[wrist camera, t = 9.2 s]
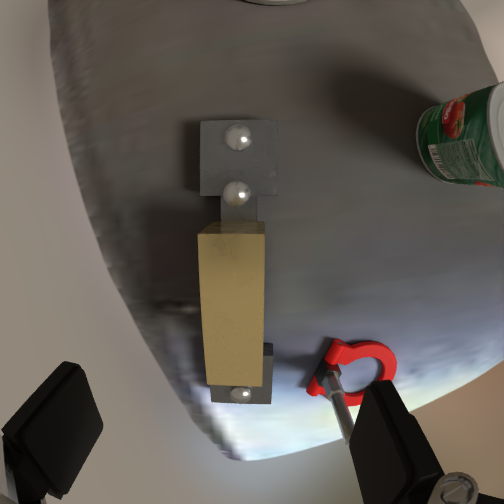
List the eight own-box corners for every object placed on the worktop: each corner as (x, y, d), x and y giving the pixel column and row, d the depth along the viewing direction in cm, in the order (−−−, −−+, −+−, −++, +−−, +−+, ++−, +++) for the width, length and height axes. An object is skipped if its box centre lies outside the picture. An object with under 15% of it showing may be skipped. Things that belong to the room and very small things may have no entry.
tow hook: (405, 347, 29) (335, 328, 28) (465, 423, 16) (383, 420, 15) (369, 404, 30) (300, 392, 30) (406, 485, 18) (321, 489, 17)
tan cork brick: (213, 221, 24) (197, 233, 18) (264, 221, 24) (264, 234, 18) (217, 344, 26) (207, 384, 20) (262, 345, 26) (262, 386, 20)
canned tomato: (427, 91, 22) (496, 59, 11) (481, 134, 23) (554, 125, 12) (404, 158, 24) (478, 149, 13) (461, 198, 24) (538, 211, 14)
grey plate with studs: (205, 126, 24) (194, 115, 20) (276, 125, 24) (279, 113, 19) (214, 389, 30) (208, 416, 25) (270, 390, 30) (271, 418, 25)
